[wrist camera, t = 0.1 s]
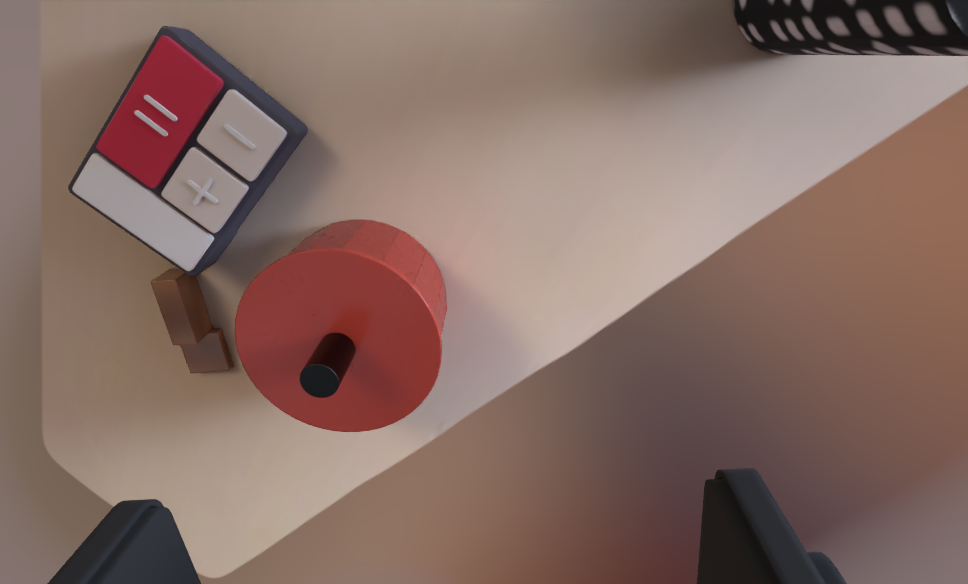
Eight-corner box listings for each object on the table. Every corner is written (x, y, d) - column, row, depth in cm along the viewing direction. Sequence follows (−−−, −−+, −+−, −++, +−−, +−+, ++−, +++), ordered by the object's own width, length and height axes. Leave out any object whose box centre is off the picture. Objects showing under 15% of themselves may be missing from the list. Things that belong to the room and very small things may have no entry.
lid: (216, 253, 39) (171, 284, 33) (428, 235, 38) (416, 264, 32) (270, 428, 45) (238, 478, 39) (454, 417, 44) (447, 467, 38)
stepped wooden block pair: (159, 270, 48) (140, 282, 45) (201, 266, 48) (184, 278, 45) (194, 368, 52) (178, 385, 49) (233, 366, 52) (219, 382, 49)
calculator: (295, 132, 39) (188, 282, 43) (312, 127, 43) (213, 265, 47) (156, 21, 37) (57, 192, 41) (188, 26, 41) (95, 181, 45)
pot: (269, 226, 46) (221, 262, 38) (435, 212, 45) (420, 245, 37) (306, 370, 52) (271, 427, 44) (455, 360, 51) (446, 416, 43)
